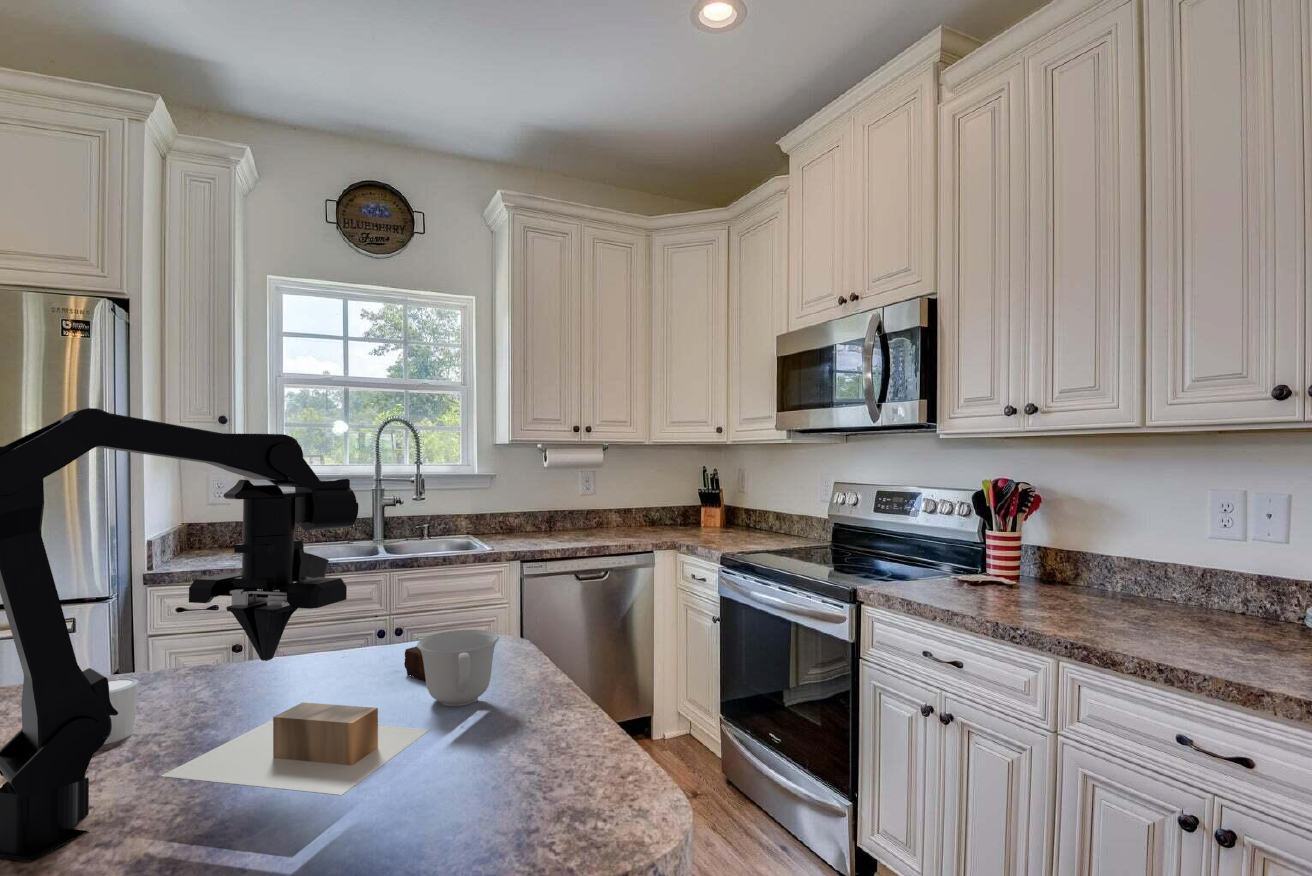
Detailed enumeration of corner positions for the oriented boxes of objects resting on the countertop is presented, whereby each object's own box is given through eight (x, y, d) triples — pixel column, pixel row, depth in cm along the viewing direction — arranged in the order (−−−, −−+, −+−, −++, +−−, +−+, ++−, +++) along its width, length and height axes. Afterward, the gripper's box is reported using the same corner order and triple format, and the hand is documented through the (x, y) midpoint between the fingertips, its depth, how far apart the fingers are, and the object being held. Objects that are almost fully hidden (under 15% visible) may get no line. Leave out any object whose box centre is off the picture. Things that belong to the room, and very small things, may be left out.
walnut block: (273, 758, 83) (352, 765, 81) (273, 717, 84) (352, 723, 81) (302, 741, 88) (377, 747, 86) (302, 702, 88) (377, 707, 86)
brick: (403, 676, 118) (403, 648, 118) (424, 670, 121) (423, 643, 121) (439, 688, 111) (439, 659, 112) (459, 681, 115) (459, 653, 115)
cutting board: (341, 804, 74) (341, 794, 74) (160, 784, 79) (160, 776, 79) (430, 736, 92) (430, 729, 92) (277, 724, 97) (277, 717, 97)
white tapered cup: (102, 749, 89) (103, 695, 89) (60, 746, 90) (61, 692, 90) (151, 729, 96) (151, 678, 96) (111, 725, 97) (111, 676, 97)
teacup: (420, 734, 92) (419, 660, 93) (415, 698, 106) (414, 634, 106) (509, 720, 97) (508, 649, 97) (493, 688, 111) (493, 626, 111)
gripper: (374, 529, 91) (373, 647, 91) (257, 527, 95) (255, 639, 95) (315, 538, 80) (313, 672, 80) (186, 535, 84) (183, 662, 84)
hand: (267, 659), depth 85 cm, fingers closed
